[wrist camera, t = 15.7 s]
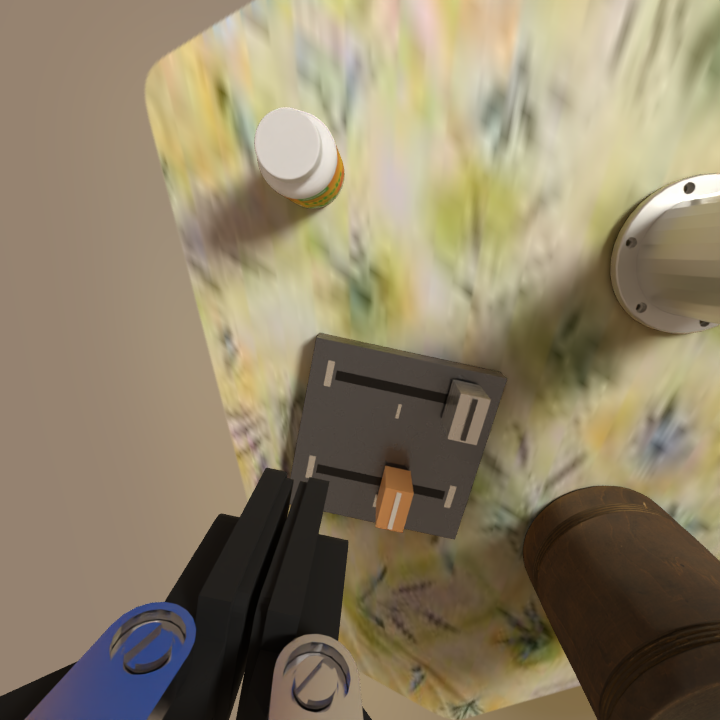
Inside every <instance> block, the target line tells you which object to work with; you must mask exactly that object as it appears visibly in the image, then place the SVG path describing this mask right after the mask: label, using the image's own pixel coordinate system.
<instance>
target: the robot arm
mask: <svg viewBox="0 0 720 720" xmlns="http://www.w3.org/2000/svg"><path fill="white" fill-rule="evenodd" d="M683 189H684V190H683ZM626 241H627V245H626ZM610 275H611V281H612V287H613V290H614V292H615V295H616V297H617V300H618V301H619V303H620V304H621V306H622V307H623V309H624V310H625V311H626V312H627V313H628V314H629V315H630V316H631V317H632V318H633V319H634V320H636V321H638V322H639V323H641V324H643V325H645V326H647V327H650V328H653V329H656V330H659V331H664V332H668V333H681V334H687V333H694V332H701V331H704V330H707V329H710V328H713V327H716V326H718V325H720V174H719V173H711V174H700V175H695V176H691V177H687V178H683V179H680V180H678V181H675V182H673V183H670V184H667V185H666V186H664V187H662V188H661V189H659V190H657V191H655V192H654V193H652V194H651V195H650V196H649V197H648V198H646V199H645V200H644V201H643V202H641V203H640V204H639V205H638V207H637V208H636V209H635V210H634V211H633V212H632V213H631V215H630V216H629V217H628V219H627V220H626V222H625V223H624V225H623V227H622V228H621V230H620V232H619V234H618V237H617V239H616V242H615V244H614V248H613V252H612V257H611V271H610ZM636 306H637V308H636ZM329 482H330V481H326V480H322V479H317V478H312V477H309V480H308V482H303V481H300V482H299V485H298V488H297V491H296V494H295V497H294V499H293V502H292V505H291V508H290V511H289V514H288V510H289V504H290V499H291V494H292V488H293V483H294V479H289V478H287V472H284V471H280V470H275V469H270V468H266V469H265V471H264V473H263V474H262V476H261V478H260V480H259V482H258V484H257V486H256V488H255V490H254V492H253V493H252V495H251V497H250V499H249V501H248V503H247V505H246V507H245V509H244V511H243V513H242V514H241V516H240V517H235V516H230V515H226V514H219V515H218V517H217V518H216V519H215V521H214V523H213V524H212V526H211V527H210V529H209V531H208V532H207V534H206V535H205V537H204V539H203V541H202V542H201V544H200V545H199V547H198V549H197V550H196V552H195V553H194V555H193V557H192V558H191V560H190V561H189V563H188V565H187V567H186V568H185V570H184V571H183V573H182V575H181V576H180V578H179V580H178V581H177V583H176V584H175V586H174V588H173V589H172V591H171V592H170V594H169V596H168V597H167V599H166V601H165V602H155V603H149V604H145V605H142V606H138V607H136V608H134V609H132V610H130V611H129V612H127V613H125V614H123V615H122V616H121V617H120V618H119V619H117V620H116V621H115V622H114V623H113V624H112V625H111V626H110V627H109V628H108V629H107V630H106V631H105V632H104V633H103V634H102V635H101V637H100V638H99V639H98V640H97V641H96V642H95V643H94V644H93V645H92V646H91V647H90V649H89V650H88V651H87V652H86V653H85V654H84V655H83V656H82V657H81V659H79V661H77V662H75V663H73V664H71V665H68V666H66V667H64V668H62V669H60V670H58V671H55V672H53V673H51V674H49V675H46V676H44V677H42V678H40V679H38V680H36V681H33V682H31V683H29V684H27V685H24V686H22V687H20V688H18V689H16V690H13V691H12V692H9V693H7V694H5V695H3V696H0V720H229V718H230V715H231V711H232V709H233V706H234V702H235V699H236V696H237V693H238V690H239V686H240V684H241V681H242V678H243V675H244V678H243V683H242V689H241V695H240V700H239V706H238V712H237V717H236V720H372V719H371V718H370V716H369V715H368V714H367V712H366V711H365V710H364V708H363V707H362V700H361V689H360V679H359V673H358V669H357V665H356V662H355V660H354V659H353V657H352V655H351V653H350V652H349V651H348V650H347V649H346V648H345V647H344V646H343V645H342V644H341V643H340V642H339V641H338V636H339V627H340V617H341V608H342V599H343V589H344V580H345V571H346V561H347V552H348V540H343V539H339V538H334V537H329V536H325V535H320V534H318V533H319V528H320V524H321V519H322V515H323V510H324V505H325V501H326V496H327V492H328V487H329ZM287 515H288V517H287ZM244 671H245V672H244Z"/></svg>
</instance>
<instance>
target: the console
mask: <svg viewBox="0 0 720 720" xmlns="http://www.w3.org/2000/svg"><path fill="white" fill-rule="evenodd" d="M453 380H458V381H463V382H467V383H472V384H476V385H480V386H481V387H482V389H483V390H484V391H485V393H486V394H487V395H488V397H489V398H490V399H491V401H490V405H489V408H488V411H487V414H486V417H485V420H484V423H483V426H482V430H481V433H480V436H479V439H478V442H477V445H473V444H468V443H463V442H459V441H454V440H450V439H447V436H446V434H445V431H444V428H443V425H442V423H441V419H442V415H443V412H444V409H445V405H446V402H447V398H448V395H449V391H450V388H451V384H452V381H453ZM506 381H507V378H506V377H505V376H504V375H503V374H502V373H501V372H498V371H493V370H489V369H484V368H480V367H475V366H470V365H466V364H461V363H457V362H452V361H447V360H443V359H438V358H434V357H429V356H424V355H420V354H415V353H411V352H406V351H401V350H397V349H392V348H388V347H383V346H378V345H374V344H369V343H364V342H360V341H355V340H351V339H346V338H341V337H337V336H332V335H328V334H323V333H319V335H318V336H317V338H316V343H315V349H314V354H313V359H312V365H311V370H310V375H309V381H308V386H307V392H306V397H305V402H304V408H303V413H302V418H301V424H300V429H299V435H298V440H297V445H296V451H295V456H294V461H293V467H292V472H291V478H290V479H294V483H293V488H292V494H291V499H290V504H291V505H292V502H293V499H294V497H295V494H296V491H297V488H298V485H299V482H300V481H303V482H308V480H309V477H312V478H317V479H322V480H326V481H330V482H329V487H328V492H327V496H326V501H325V505H324V510H323V511H324V512H329V513H333V514H338V515H343V516H347V517H352V518H357V519H362V520H366V521H371V522H376V500H377V496H378V492H379V488H380V484H381V481H382V477H383V473H384V469H385V466H389V467H394V468H398V469H403V470H408V471H411V478H412V485H413V492H414V494H413V498H412V501H411V505H410V508H409V512H408V515H407V519H406V523H405V526H404V529H408V530H413V531H418V532H423V533H427V534H432V535H437V536H441V537H446V538H451V539H455V537H456V534H457V531H458V528H459V525H460V522H461V519H462V516H463V513H464V510H465V507H466V504H467V501H468V497H469V494H470V491H471V488H472V485H473V482H474V479H475V476H476V473H477V470H478V467H479V464H480V461H481V458H482V455H483V451H484V448H485V445H486V442H487V439H488V436H489V433H490V430H491V427H492V424H493V421H494V418H495V415H496V412H497V409H498V405H499V402H500V399H501V396H502V393H503V390H504V387H505V384H506Z"/></svg>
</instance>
